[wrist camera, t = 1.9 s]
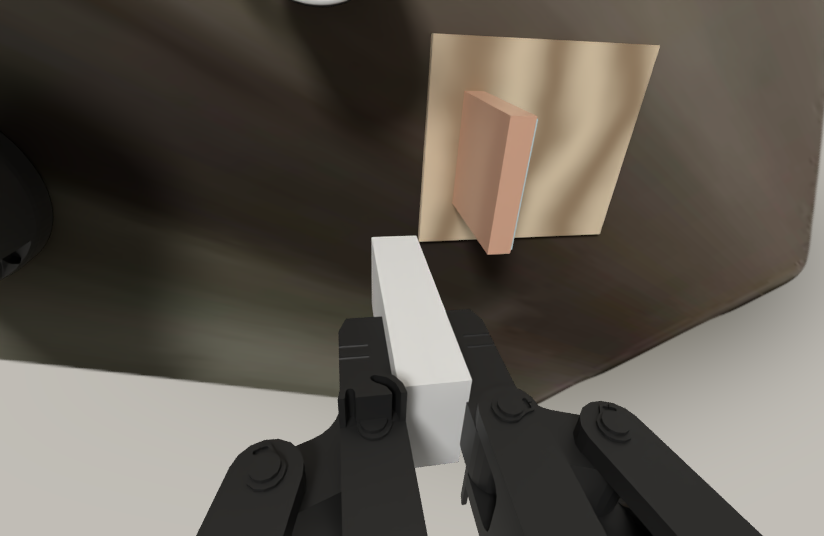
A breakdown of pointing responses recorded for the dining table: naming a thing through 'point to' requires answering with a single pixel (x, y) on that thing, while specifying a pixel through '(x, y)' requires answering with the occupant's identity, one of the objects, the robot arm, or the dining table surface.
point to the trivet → (556, 129)
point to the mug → (321, 2)
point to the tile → (492, 168)
